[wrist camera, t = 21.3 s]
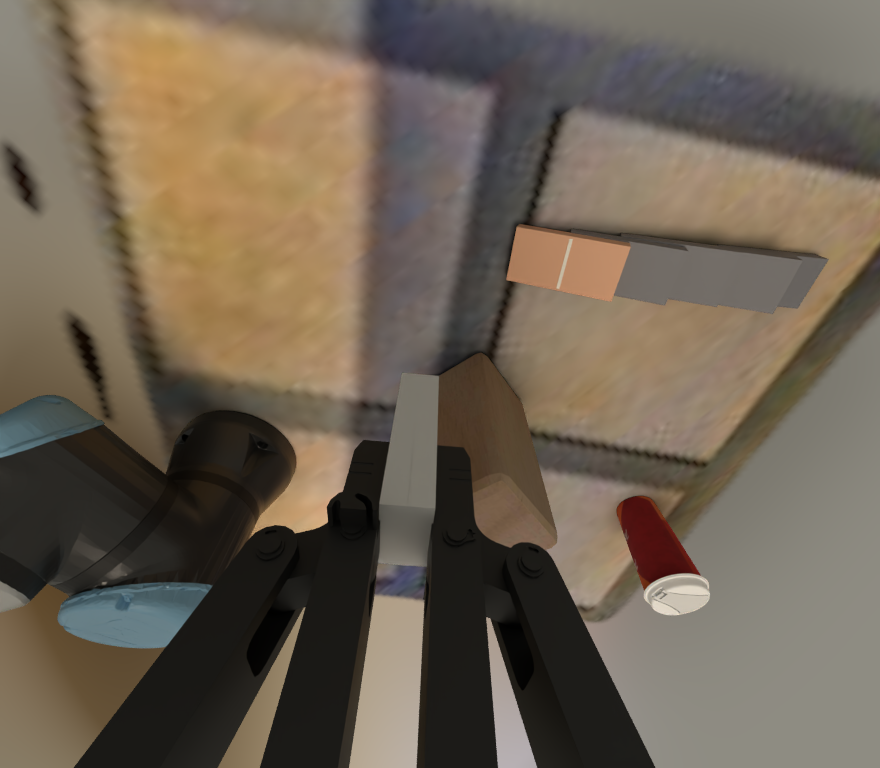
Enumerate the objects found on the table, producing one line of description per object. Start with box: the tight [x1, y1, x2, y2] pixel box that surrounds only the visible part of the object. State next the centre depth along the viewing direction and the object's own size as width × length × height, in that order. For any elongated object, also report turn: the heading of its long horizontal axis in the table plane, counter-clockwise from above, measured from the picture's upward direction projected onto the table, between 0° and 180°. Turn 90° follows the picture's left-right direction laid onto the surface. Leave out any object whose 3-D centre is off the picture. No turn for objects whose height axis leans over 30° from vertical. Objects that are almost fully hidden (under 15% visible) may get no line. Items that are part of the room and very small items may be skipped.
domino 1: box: [571, 229, 688, 305], centre depth 37 cm, size 2×5×10 cm
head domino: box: [506, 224, 631, 302], centre depth 37 cm, size 2×5×10 cm
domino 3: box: [700, 243, 803, 314], centre depth 38 cm, size 2×5×10 cm
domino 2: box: [620, 233, 743, 307], centre depth 37 cm, size 2×5×10 cm
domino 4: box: [717, 244, 829, 308], centre depth 39 cm, size 2×5×10 cm
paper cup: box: [617, 496, 710, 615], centre depth 54 cm, size 8×8×14 cm
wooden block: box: [437, 353, 557, 550], centre depth 40 cm, size 10×10×20 cm
